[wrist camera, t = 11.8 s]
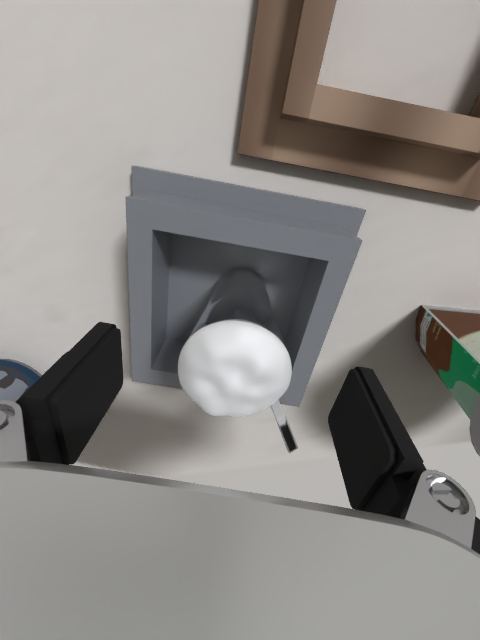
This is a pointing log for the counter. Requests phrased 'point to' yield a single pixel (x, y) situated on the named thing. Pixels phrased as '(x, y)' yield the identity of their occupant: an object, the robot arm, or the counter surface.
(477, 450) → the food container
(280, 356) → the milkshake
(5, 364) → the soda can
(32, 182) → the counter surface
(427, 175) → the walnut dock
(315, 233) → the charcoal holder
